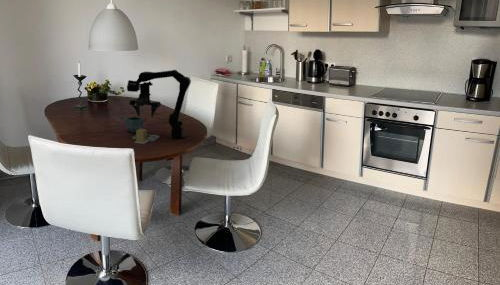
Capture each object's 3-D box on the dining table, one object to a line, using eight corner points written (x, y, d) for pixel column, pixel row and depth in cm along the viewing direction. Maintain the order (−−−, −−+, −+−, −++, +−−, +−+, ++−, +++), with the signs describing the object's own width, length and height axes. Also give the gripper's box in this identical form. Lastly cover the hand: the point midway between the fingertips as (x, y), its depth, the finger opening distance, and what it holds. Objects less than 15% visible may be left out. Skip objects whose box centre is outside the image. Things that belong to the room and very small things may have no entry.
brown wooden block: (146, 140, 227) (146, 129, 225) (143, 142, 223) (143, 131, 221) (140, 139, 228) (139, 128, 226) (136, 141, 224) (136, 130, 222)
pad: (148, 141, 228) (148, 140, 228) (144, 143, 222) (143, 142, 222) (139, 140, 229) (139, 139, 229) (134, 142, 223) (134, 141, 223)
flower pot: (136, 129, 252) (136, 116, 250) (144, 131, 247) (143, 118, 245) (125, 131, 246) (124, 118, 243) (132, 134, 241) (132, 120, 238)
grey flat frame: (159, 138, 235) (159, 135, 235) (153, 141, 228) (153, 138, 227) (138, 135, 238) (138, 133, 237) (132, 138, 230) (132, 136, 230)
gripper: (124, 92, 225) (125, 117, 229) (153, 95, 222) (153, 121, 226) (133, 90, 235) (134, 114, 240) (161, 92, 232) (161, 117, 237)
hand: (145, 116), depth 235 cm, fingers open, 9 cm apart
